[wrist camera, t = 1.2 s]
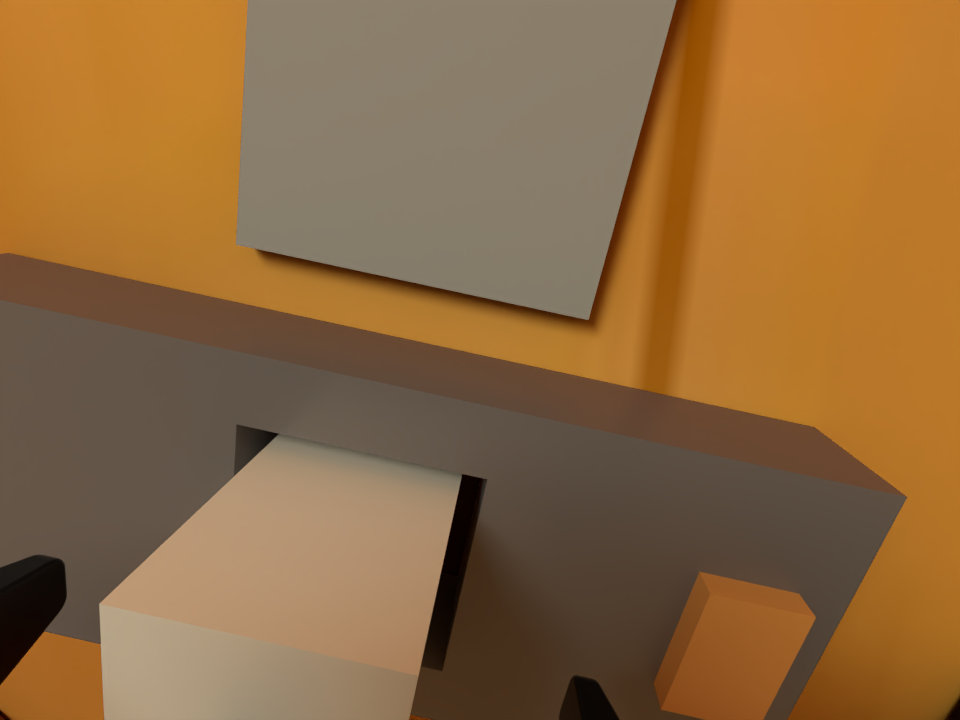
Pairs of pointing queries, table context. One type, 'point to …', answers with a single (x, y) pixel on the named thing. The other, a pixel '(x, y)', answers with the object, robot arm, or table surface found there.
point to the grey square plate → (447, 138)
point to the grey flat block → (457, 448)
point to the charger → (285, 594)
